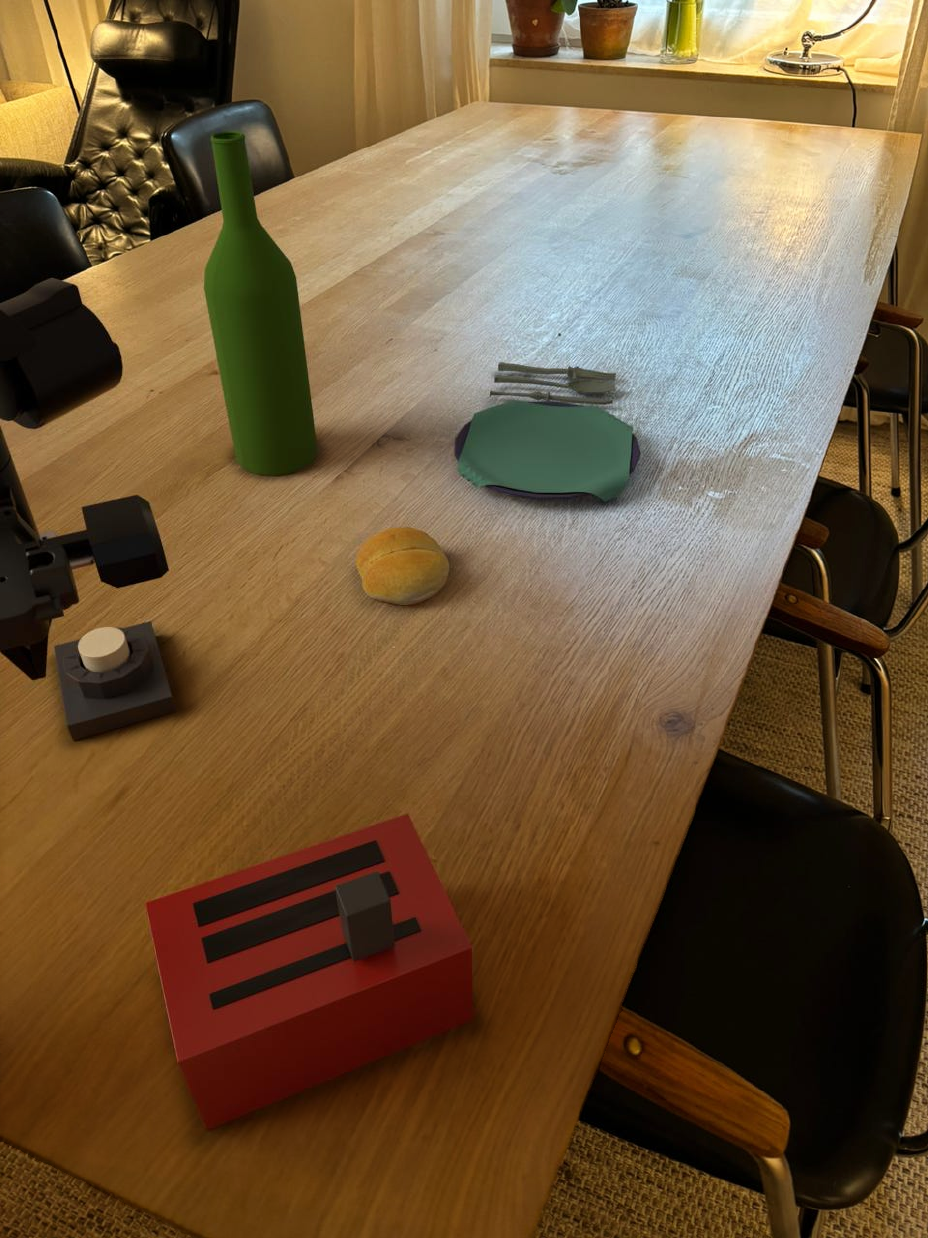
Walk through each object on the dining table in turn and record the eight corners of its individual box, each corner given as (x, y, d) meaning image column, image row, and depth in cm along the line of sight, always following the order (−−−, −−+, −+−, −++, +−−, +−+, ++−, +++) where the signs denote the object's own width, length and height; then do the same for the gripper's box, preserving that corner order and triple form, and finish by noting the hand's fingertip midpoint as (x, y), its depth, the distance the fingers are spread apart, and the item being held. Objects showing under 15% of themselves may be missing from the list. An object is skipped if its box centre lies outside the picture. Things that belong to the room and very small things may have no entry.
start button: (86, 678, 78) (80, 662, 76) (81, 650, 80) (75, 633, 79) (133, 665, 79) (128, 649, 78) (126, 638, 81) (121, 621, 80)
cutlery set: (438, 504, 101) (437, 485, 99) (483, 370, 123) (483, 353, 122) (635, 521, 98) (637, 502, 97) (645, 381, 121) (647, 364, 119)
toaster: (206, 1131, 55) (176, 1061, 49) (172, 976, 62) (144, 901, 56) (473, 1020, 59) (472, 946, 54) (413, 888, 66) (407, 811, 61)
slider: (353, 963, 53) (346, 916, 50) (342, 932, 54) (334, 885, 52) (395, 947, 54) (390, 900, 51) (383, 917, 55) (377, 870, 52)
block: (72, 741, 77) (60, 709, 74) (59, 660, 84) (47, 629, 81) (176, 711, 79) (167, 679, 77) (155, 635, 86) (146, 604, 84)
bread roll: (370, 616, 88) (366, 580, 85) (352, 557, 94) (348, 523, 92) (460, 600, 89) (459, 564, 87) (436, 543, 96) (435, 509, 93)
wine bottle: (268, 427, 113) (219, 117, 92) (333, 445, 110) (298, 128, 89) (218, 463, 107) (154, 141, 86) (286, 484, 104) (235, 154, 83)
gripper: (-260, 596, 45) (-124, 813, 55) (155, 502, 50) (210, 716, 61) (-235, 475, 53) (-119, 685, 63) (123, 405, 58) (176, 609, 68)
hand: (39, 675), depth 64 cm, fingers closed
